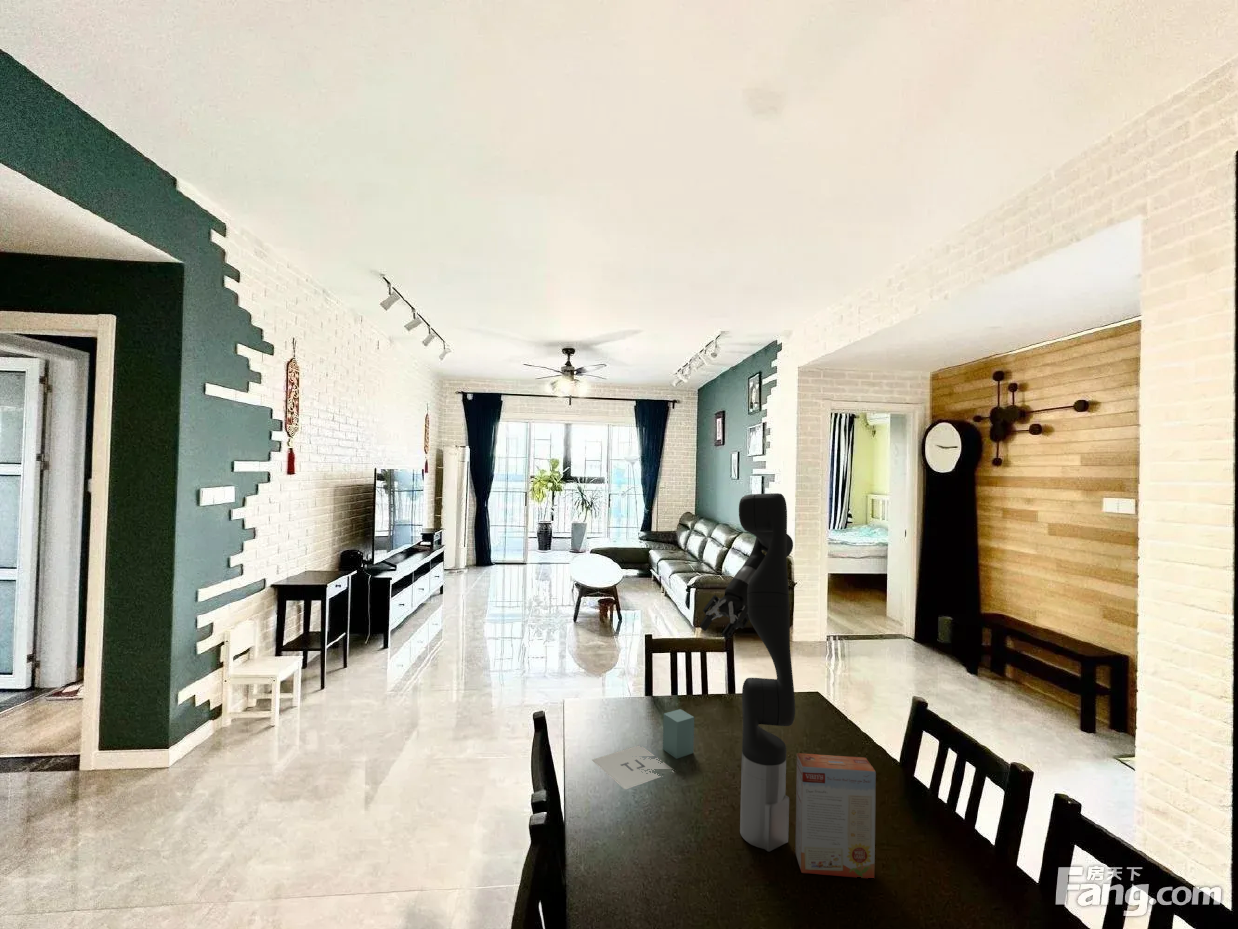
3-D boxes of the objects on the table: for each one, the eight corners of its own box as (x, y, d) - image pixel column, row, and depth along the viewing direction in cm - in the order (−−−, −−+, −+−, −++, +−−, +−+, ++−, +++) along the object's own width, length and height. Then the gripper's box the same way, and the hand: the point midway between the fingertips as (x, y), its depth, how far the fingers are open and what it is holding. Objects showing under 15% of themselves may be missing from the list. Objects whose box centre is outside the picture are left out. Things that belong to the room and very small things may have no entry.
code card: (676, 771, 144) (676, 771, 144) (624, 790, 135) (624, 789, 135) (640, 745, 157) (640, 744, 157) (591, 760, 148) (591, 759, 148)
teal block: (693, 753, 154) (694, 717, 154) (676, 759, 150) (677, 722, 150) (679, 744, 159) (680, 709, 159) (662, 749, 155) (663, 713, 155)
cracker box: (864, 859, 113) (867, 756, 113) (875, 881, 107) (877, 772, 107) (793, 852, 114) (796, 750, 115) (800, 874, 108) (803, 766, 109)
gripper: (719, 573, 160) (688, 618, 154) (757, 582, 148) (724, 631, 142) (732, 589, 163) (702, 634, 157) (770, 600, 151) (739, 649, 145)
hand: (713, 633), depth 149 cm, fingers open, 8 cm apart
